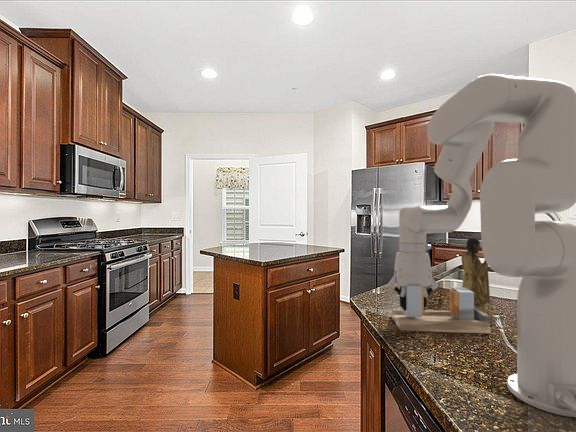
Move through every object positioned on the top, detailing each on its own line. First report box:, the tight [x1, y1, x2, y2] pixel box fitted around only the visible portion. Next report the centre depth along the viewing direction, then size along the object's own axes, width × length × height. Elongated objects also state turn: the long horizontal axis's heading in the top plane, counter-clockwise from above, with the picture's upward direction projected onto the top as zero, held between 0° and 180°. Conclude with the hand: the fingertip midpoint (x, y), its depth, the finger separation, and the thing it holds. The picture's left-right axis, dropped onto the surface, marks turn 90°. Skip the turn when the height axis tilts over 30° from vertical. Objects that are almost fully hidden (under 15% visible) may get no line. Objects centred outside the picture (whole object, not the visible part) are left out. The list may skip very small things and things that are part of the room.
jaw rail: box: [391, 286, 492, 334], centre depth 95 cm, size 12×24×10 cm, turn 83°
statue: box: [460, 236, 491, 315], centre depth 106 cm, size 9×9×25 cm
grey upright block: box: [402, 285, 424, 317], centre depth 96 cm, size 6×5×9 cm
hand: (412, 308), depth 96 cm, fingers closed on grey upright block, 4 cm apart
